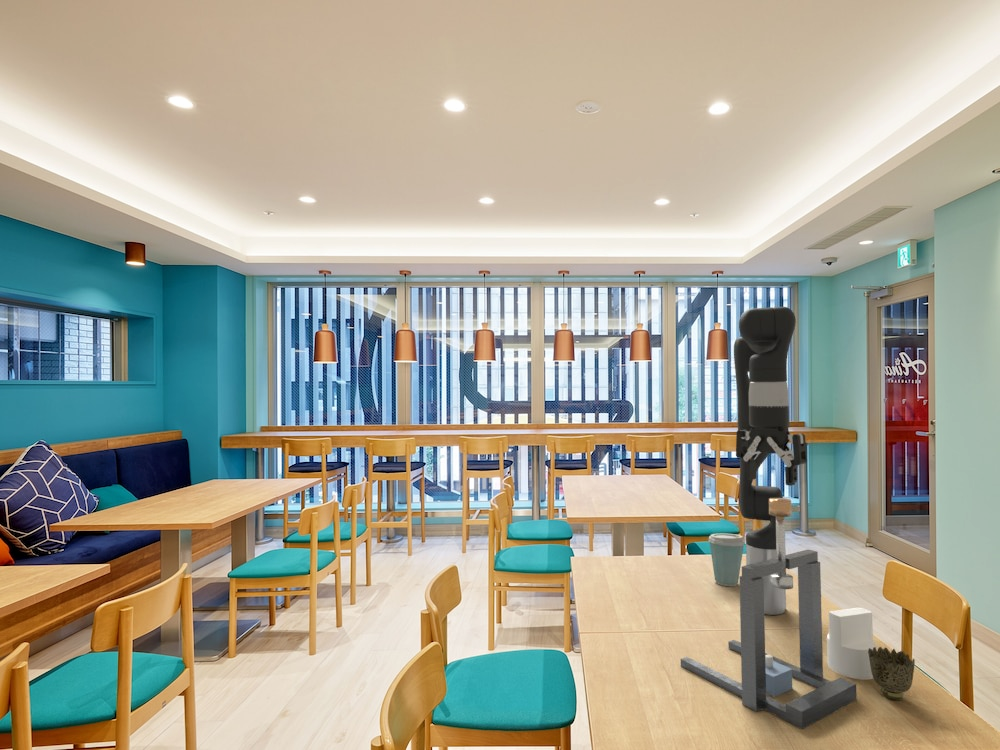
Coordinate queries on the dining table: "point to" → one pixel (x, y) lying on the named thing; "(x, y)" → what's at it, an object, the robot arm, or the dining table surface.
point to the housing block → (777, 677)
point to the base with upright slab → (850, 642)
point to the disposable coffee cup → (726, 557)
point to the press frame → (753, 658)
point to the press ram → (781, 540)
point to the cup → (891, 671)
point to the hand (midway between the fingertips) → (770, 482)
